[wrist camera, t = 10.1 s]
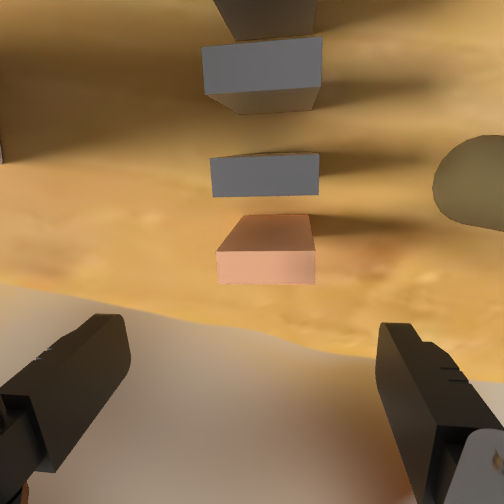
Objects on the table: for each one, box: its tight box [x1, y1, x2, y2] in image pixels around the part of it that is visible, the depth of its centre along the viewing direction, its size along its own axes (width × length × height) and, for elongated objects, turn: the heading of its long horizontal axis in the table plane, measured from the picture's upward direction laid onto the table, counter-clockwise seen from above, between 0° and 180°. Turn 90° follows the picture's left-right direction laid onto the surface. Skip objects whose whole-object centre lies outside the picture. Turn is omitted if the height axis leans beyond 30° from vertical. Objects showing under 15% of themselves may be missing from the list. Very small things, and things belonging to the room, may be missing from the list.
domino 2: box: [201, 36, 322, 115], centre depth 17 cm, size 5×2×9 cm, turn 92°
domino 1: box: [210, 152, 319, 197], centre depth 19 cm, size 5×2×9 cm, turn 93°
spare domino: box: [216, 214, 316, 285], centre depth 20 cm, size 5×2×9 cm, turn 93°
